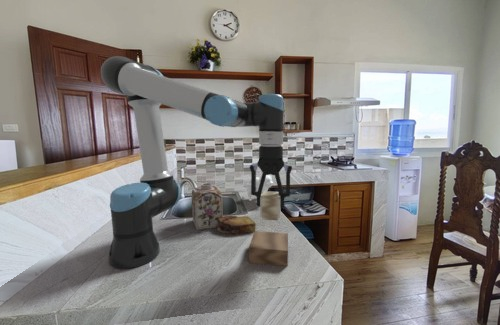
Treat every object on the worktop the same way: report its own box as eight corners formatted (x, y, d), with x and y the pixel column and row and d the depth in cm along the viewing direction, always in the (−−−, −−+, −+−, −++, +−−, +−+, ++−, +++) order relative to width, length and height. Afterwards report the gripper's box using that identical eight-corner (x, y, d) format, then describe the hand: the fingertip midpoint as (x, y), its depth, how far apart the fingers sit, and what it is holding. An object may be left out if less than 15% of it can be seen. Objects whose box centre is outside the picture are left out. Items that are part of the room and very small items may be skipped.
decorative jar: (217, 216, 111) (216, 180, 108) (223, 226, 100) (222, 185, 98) (191, 220, 107) (190, 182, 104) (195, 230, 96) (194, 188, 93)
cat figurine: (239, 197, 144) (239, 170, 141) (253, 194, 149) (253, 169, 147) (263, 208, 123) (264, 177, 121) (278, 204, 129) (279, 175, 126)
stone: (251, 224, 103) (251, 212, 102) (256, 233, 94) (256, 221, 93) (217, 227, 100) (217, 215, 99) (219, 237, 91) (218, 224, 90)
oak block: (261, 219, 74) (261, 195, 73) (263, 214, 79) (263, 191, 77) (277, 220, 73) (277, 195, 72) (278, 214, 78) (278, 191, 77)
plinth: (249, 262, 73) (249, 247, 72) (254, 244, 84) (254, 231, 84) (287, 265, 71) (287, 250, 70) (287, 246, 83) (287, 233, 82)
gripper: (240, 146, 70) (241, 219, 74) (300, 146, 67) (298, 222, 71) (244, 144, 78) (245, 210, 81) (299, 144, 75) (297, 213, 78)
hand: (270, 216), depth 76 cm, fingers closed on oak block, 5 cm apart
